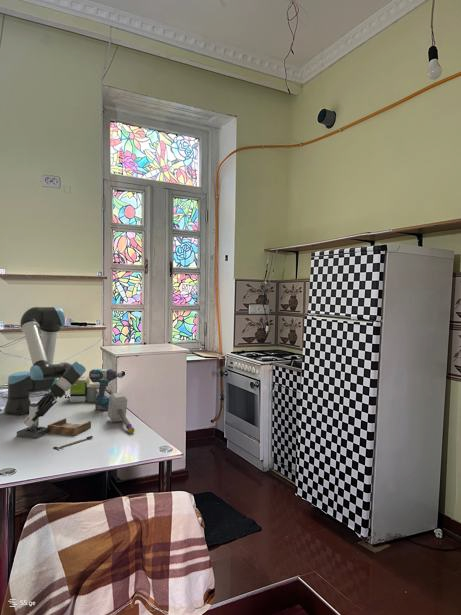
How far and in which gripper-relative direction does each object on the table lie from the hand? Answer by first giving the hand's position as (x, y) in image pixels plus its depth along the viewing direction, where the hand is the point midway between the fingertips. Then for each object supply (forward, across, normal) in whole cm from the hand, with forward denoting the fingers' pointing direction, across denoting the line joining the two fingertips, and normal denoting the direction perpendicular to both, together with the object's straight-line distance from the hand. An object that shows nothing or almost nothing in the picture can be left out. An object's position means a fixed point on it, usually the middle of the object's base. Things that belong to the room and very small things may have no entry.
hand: (25, 424), depth 215 cm
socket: (+1, 0, -6) cm, 7 cm away
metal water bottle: (+1, 0, -6) cm, 6 cm away
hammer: (-28, -12, -36) cm, 48 cm away
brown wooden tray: (-11, -3, -18) cm, 21 cm away
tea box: (-31, +62, -40) cm, 80 cm away
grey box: (-36, +52, -44) cm, 77 cm away
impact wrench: (-34, +28, -42) cm, 61 cm away
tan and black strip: (-7, -26, -15) cm, 31 cm away
